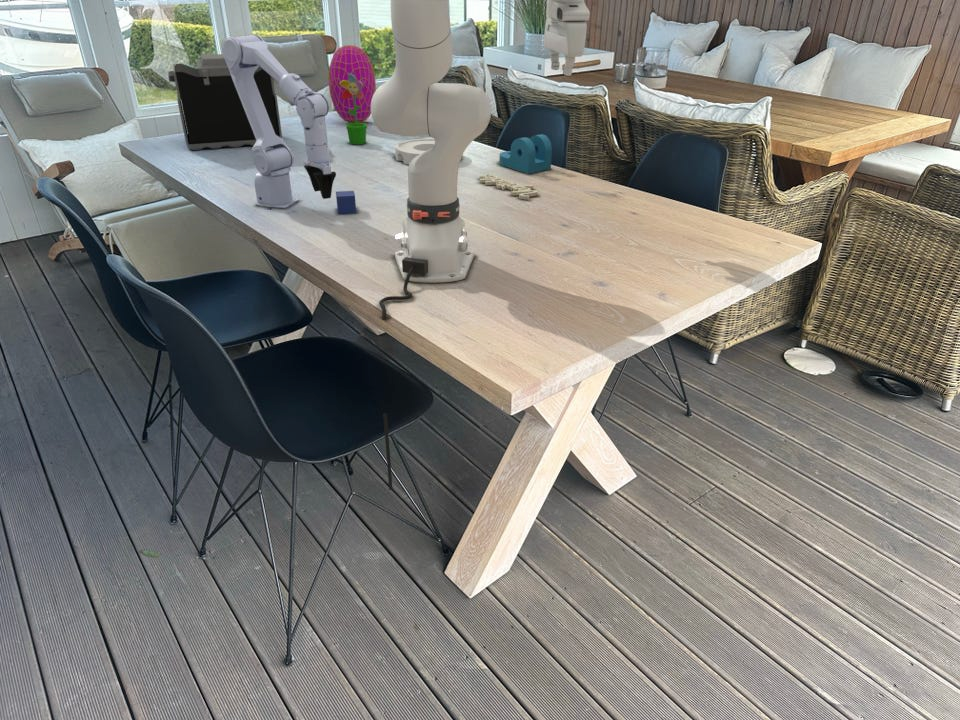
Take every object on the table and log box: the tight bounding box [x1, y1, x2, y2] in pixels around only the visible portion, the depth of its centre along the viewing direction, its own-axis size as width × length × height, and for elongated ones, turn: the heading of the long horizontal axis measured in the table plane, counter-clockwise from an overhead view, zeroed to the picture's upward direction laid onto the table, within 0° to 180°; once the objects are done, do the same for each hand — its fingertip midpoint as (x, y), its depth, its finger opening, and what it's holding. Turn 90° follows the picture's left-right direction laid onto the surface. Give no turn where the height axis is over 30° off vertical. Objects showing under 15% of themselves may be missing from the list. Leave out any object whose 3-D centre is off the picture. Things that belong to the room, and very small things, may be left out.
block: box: [335, 190, 357, 215], centre depth 191 cm, size 5×5×5 cm
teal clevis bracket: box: [498, 133, 553, 175], centre depth 233 cm, size 18×10×10 cm, turn 39°
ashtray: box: [394, 138, 435, 166], centre depth 243 cm, size 23×23×4 cm
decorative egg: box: [328, 44, 377, 124], centre depth 286 cm, size 19×19×30 cm
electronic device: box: [167, 52, 283, 151], centre depth 254 cm, size 37×22×30 cm, turn 111°
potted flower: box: [339, 73, 368, 145], centre depth 255 cm, size 9×8×25 cm
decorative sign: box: [479, 173, 539, 201], centre depth 214 cm, size 26×1×10 cm
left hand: (322, 194), depth 187 cm, fingers open, 7 cm apart
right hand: (561, 72), depth 170 cm, fingers open, 8 cm apart
